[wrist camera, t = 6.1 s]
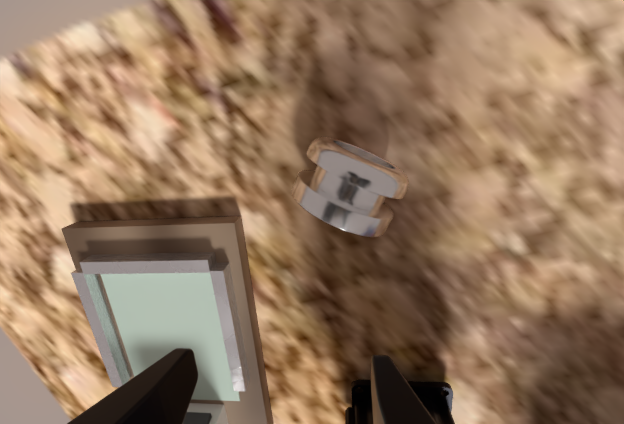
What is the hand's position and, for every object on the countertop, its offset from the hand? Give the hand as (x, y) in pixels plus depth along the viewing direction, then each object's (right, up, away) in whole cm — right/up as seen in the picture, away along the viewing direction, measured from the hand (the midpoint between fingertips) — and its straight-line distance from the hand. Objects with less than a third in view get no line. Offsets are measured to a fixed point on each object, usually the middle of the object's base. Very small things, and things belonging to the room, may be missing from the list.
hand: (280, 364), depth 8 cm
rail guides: (-9, -3, +12) cm, 15 cm away
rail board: (-8, -6, +15) cm, 18 cm away
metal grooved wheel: (+3, +6, +10) cm, 12 cm away
